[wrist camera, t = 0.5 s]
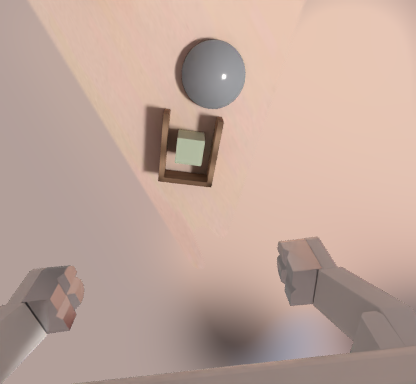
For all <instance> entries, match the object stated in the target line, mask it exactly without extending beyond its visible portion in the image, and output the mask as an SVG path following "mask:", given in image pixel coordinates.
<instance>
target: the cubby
mask: <svg viewBox="0 0 416 384" xmlns="http://www.w3.org/2000/svg"><path fill="white" fill-rule="evenodd" d="M169 121H170V109H165V110H164V113H163V125H162V138H161V151H160V165H159V178H158V181H161V182H169V183H178V184H187V185H195V186H204V187H211V186H212V181H213V175H214V170H215V165H216V160H217V155H218V150H219V144H220V139H221V134H222V129H223V124H224V122H223V119H222V117H217V118H216V123H215V129H214V135H213V140H212V146H211V152H210V157H209V163H208V168H207V174H206V175H205V174H197V173H189V172H181V171H172V170H165V166H166V155H167V144H168V132H169Z"/></svg>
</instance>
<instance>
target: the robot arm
mask: <svg viewBox="0 0 416 384" xmlns="http://www.w3.org/2000/svg"><path fill="white" fill-rule="evenodd" d="M278 252H279V254H280V255H279V256H278V257H277V266H278V272H279V276H280V279H281V282H283V283H284V284H285V293H286V296H287V298H288V301H289V304H290V306H294V305H306V304H313V305H314V306H315V307H316V308H317V309H318V310H319V311H320V312H321V313H323V314H324V315H325V316H326V317H327V318H328V319H329V320H330V321H331V322H333V323H334V324H335V325H336V326H337V327H338V328H339V329H340V330H341V331H343V332H344V333H345V334H346V335H347V336H348V337H349V338H350V339H351V340H352V341H353V344H352V348H351V351H350V353H346V354H337V355H328V356H320V357H310V358H301V359H292V360H282V361H274V362H264V363H256V364H247V365H238V366H228V367H219V368H211V369H201V370H193V371H183V372H174V373H165V374H156V375H147V376H138V377H129V378H120V379H112V380H103V381H93V382H85V383H75V384H416V313H415V312H414V311H413V309H412V308H411V307H410V306H408V305H407V304H405V303H403V302H402V301H400V300H398V299H396V298H395V297H393V296H391V295H390V294H388V293H386V292H384V291H383V290H381V289H379V288H377V287H376V286H374V285H372V284H370V283H369V282H367V281H365V280H364V279H362V278H360V277H358V276H357V275H355V274H353V273H352V272H350V271H348V270H346V269H345V268H343V267H337V266H336V264H335V262H334V261H333V259H332V257H331V256H330V254H329V253H328V251H327V250H326V248H325V246H324V245H323V243H322V242H321V240H320V239H319V238H318V237H311V238H304V239H296V240H288V241H280V242H278ZM76 274H77V271H76V269H75V267H74V266H59V267H48V268H40V269H33V270H31V271H29V273H28V274H27V276H26V277H25V279H24V280H23V281H22V283H21V284H20V286H19V287H18V289H17V290H16V291H15V293H14V294H13V296H12V297H11V299H10V300H9V302H8V303H7V304H6V305H2V306H0V384H2V383H3V382H4V381H5V380H6V379H7V378H8V377H9V375H10V374H11V373H12V372H13V371H14V370H15V369H16V368H17V367H18V366H19V365H20V363H22V362H23V360H24V359H25V358H26V357H27V356H28V355H29V354H30V353H31V352H32V351H33V350H34V349H35V348H36V346H38V344H39V343H40V342H41V341H42V340H43V339H44V338H45V337H46V336H47V334H49V333H56V332H62V331H69V330H70V329H71V326H72V324H73V322H74V319H75V317H76V312H75V309H76V308H77V307H78V306H79V305H80V304H81V302H82V300H83V296H84V285H83V283H82V281H81V279H79V278H77V277H76Z"/></svg>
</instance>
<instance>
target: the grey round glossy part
mask: <svg viewBox="0 0 416 384" xmlns="http://www.w3.org/2000/svg"><path fill="white" fill-rule="evenodd" d="M244 82H245V66H244V62H243V60H242V57H241V55H240V54H239V53H238V51H237V50H236V49H235V48H234V47H233V46H232V45H230V44H228V43H226V42H224V41H220V40H206V41H203V42H201V43H199V44H197V45H196V46H195V47H194V48H192V49H191V51H190V52H189V53H188V55H187V56H186V58H185V61H184V64H183V67H182V83H183V86H184V89H185V91H186V93H187V95H188V96H189V97H190V99H191V100H192V101H193V102H195V103H196V104H197V105H199V106H201V107H204V108H208V109H218V108H222V107H225V106H227V105H229V104H230V103H232V102H233V101H234V100H235V99H236V98H237V97H238V95H239V94H240V92H241V90H242V88H243V85H244Z"/></svg>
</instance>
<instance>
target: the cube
mask: <svg viewBox="0 0 416 384" xmlns="http://www.w3.org/2000/svg"><path fill="white" fill-rule="evenodd" d="M204 145H205V136H204V133H203V132H196V131H189V130H182V129H179V131H178V138H177V147H176V156H175V163H179V164H187V165H195V166H201V164H202V158H203V151H204Z"/></svg>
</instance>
